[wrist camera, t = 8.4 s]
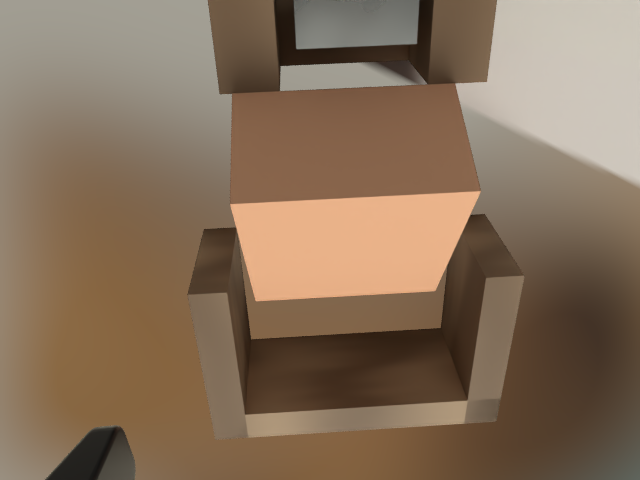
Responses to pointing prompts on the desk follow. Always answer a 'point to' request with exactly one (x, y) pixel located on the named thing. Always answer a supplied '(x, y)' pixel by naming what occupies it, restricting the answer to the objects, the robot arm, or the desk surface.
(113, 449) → the robot arm
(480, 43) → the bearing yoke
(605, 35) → the desk surface
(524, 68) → the desk surface
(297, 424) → the housing
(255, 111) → the block
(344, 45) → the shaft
